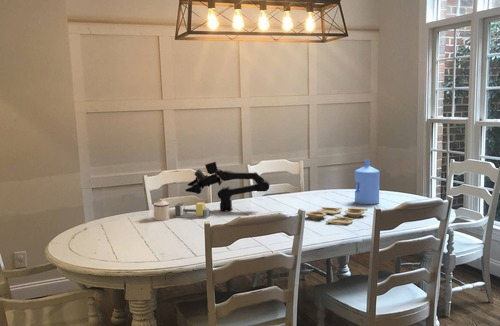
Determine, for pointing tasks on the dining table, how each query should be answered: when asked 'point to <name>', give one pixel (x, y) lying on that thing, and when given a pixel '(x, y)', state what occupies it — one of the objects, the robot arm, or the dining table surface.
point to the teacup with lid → (161, 210)
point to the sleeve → (200, 208)
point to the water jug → (367, 184)
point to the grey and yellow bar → (181, 211)
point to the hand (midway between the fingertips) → (186, 187)
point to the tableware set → (338, 220)
